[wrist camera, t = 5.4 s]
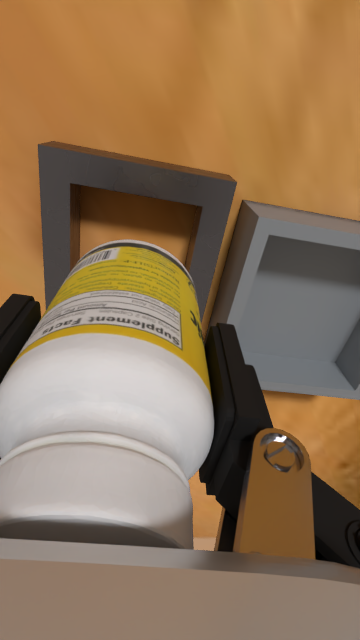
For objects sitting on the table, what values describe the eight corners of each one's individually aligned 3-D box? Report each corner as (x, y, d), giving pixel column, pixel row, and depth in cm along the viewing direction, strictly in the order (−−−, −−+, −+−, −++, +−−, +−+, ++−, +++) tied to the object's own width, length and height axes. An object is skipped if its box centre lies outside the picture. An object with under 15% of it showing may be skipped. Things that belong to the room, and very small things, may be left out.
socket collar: (228, 175, 19) (237, 182, 17) (194, 317, 24) (197, 336, 22) (53, 141, 18) (37, 144, 15) (57, 299, 23) (46, 318, 21)
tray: (411, 230, 21) (458, 251, 18) (335, 364, 27) (359, 399, 24) (242, 199, 20) (259, 216, 16) (202, 348, 26) (208, 383, 22)
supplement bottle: (176, 358, 16) (178, 633, 7) (62, 331, 15) (-81, 613, 6) (216, 257, 13) (292, 521, 5) (79, 216, 12) (-140, 456, 4)
